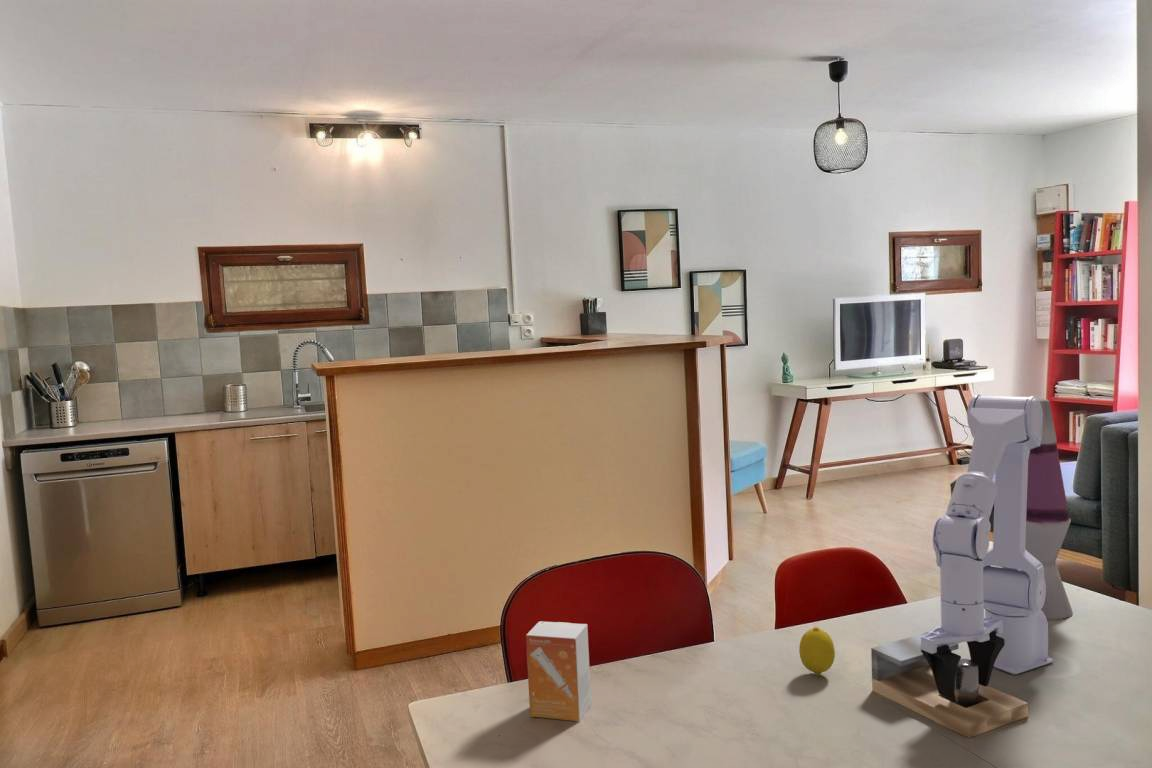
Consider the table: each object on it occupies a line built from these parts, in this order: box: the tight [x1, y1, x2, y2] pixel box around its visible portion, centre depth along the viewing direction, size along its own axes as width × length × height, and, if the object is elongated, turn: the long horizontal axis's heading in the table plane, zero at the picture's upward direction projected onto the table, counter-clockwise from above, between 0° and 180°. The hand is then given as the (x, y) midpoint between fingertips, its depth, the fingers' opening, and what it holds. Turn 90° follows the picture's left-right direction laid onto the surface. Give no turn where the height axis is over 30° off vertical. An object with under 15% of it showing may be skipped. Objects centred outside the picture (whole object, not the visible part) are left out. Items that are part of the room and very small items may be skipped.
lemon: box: [798, 626, 836, 676], centre depth 146 cm, size 6×6×8 cm
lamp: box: [1020, 398, 1073, 621], centre depth 168 cm, size 11×11×40 cm
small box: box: [525, 620, 592, 723], centre depth 137 cm, size 8×6×13 cm
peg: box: [952, 658, 979, 708], centre depth 131 cm, size 4×4×7 cm
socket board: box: [870, 631, 1029, 739], centre depth 134 cm, size 12×18×7 cm, turn 26°
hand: (963, 689), depth 131 cm, fingers open, 7 cm apart
